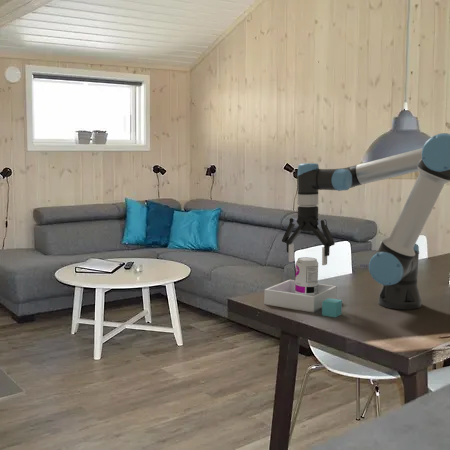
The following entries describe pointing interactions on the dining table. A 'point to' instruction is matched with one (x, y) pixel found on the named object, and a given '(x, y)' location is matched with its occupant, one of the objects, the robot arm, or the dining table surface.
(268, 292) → the tote
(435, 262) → the dining table surface
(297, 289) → the supplement can
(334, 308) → the cube
